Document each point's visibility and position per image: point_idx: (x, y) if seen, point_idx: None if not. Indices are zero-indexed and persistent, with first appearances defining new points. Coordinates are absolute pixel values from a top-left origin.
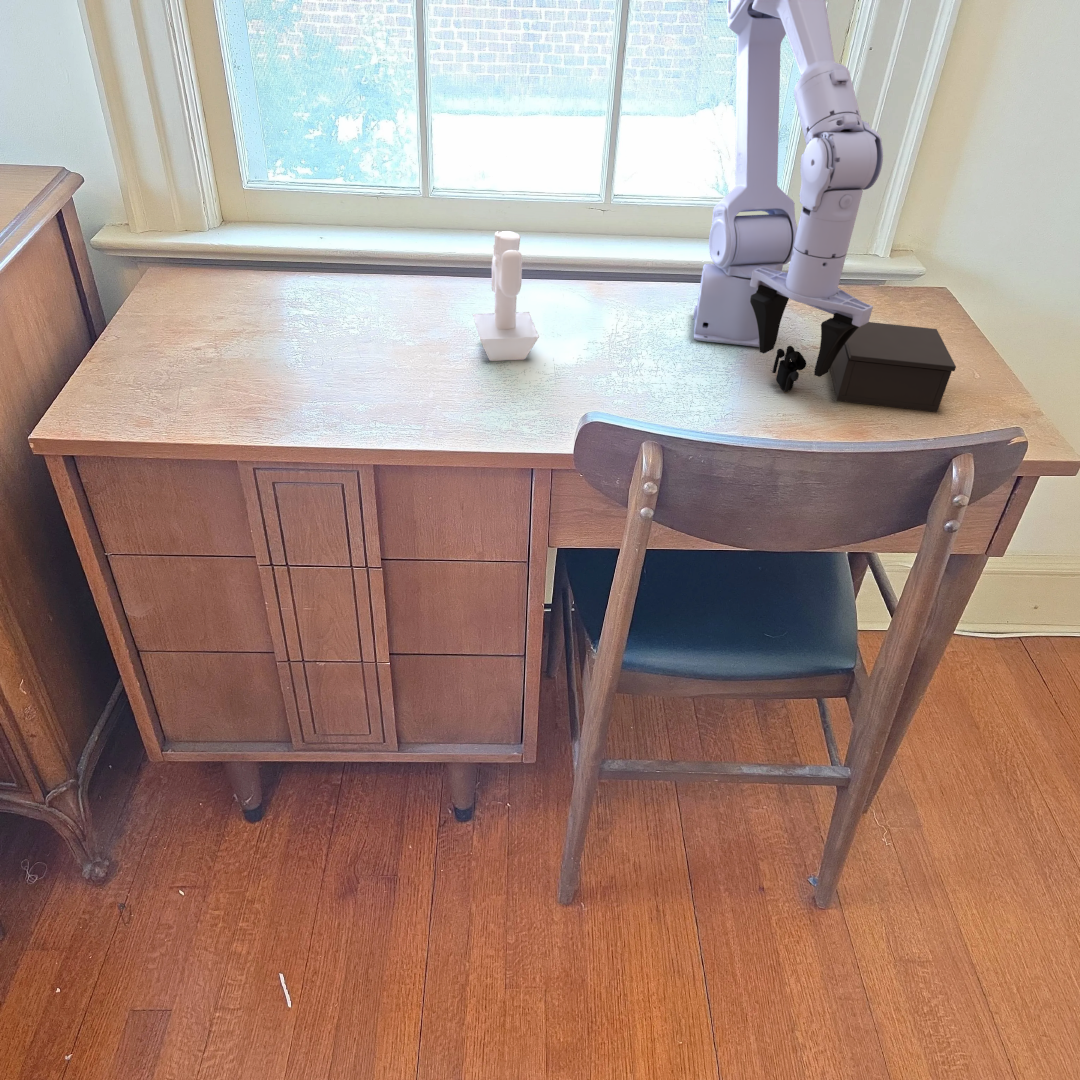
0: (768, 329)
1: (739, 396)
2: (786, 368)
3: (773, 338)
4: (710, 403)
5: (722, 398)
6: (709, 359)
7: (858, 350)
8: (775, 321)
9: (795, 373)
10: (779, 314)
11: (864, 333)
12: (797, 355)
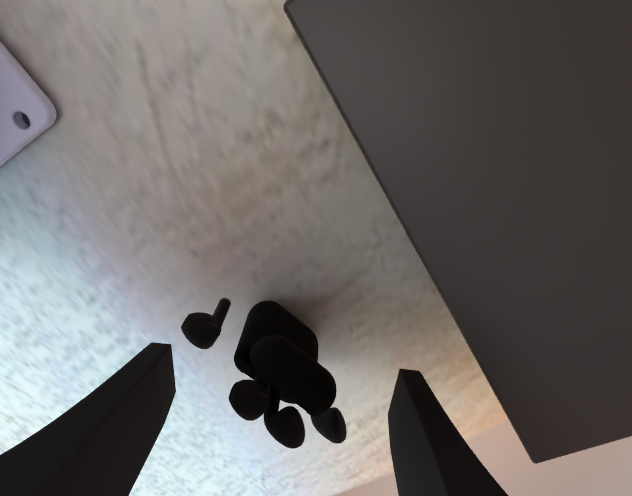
0: (124, 479)
1: (232, 415)
2: (282, 394)
3: (149, 392)
4: (209, 466)
5: (212, 440)
6: (33, 312)
7: (558, 408)
8: (101, 470)
9: (335, 442)
10: (78, 491)
11: (543, 156)
12: (300, 433)
